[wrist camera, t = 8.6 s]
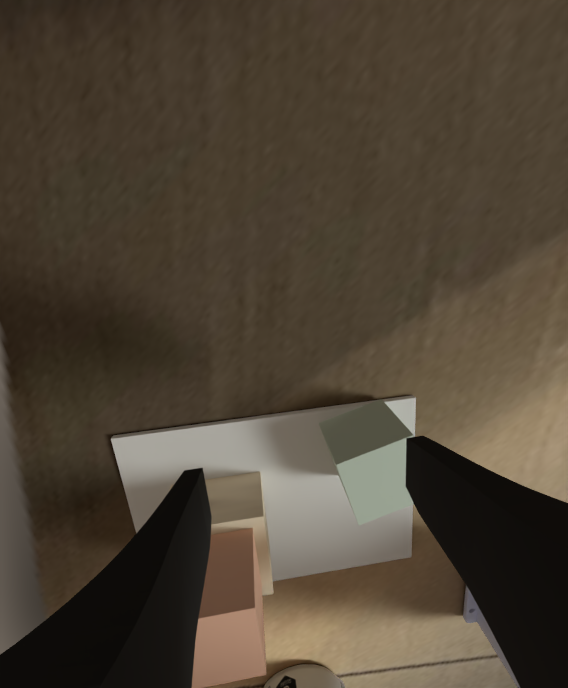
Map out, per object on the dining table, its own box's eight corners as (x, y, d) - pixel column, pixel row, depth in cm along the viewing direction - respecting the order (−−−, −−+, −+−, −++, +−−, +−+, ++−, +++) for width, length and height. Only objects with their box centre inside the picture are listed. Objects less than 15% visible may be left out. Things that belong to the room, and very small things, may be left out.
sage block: (397, 452, 24) (430, 497, 20) (338, 475, 24) (358, 525, 20) (381, 398, 23) (413, 434, 18) (318, 423, 23) (335, 464, 18)
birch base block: (269, 540, 25) (273, 593, 21) (186, 554, 24) (175, 611, 21) (260, 471, 23) (263, 516, 19) (171, 484, 23) (156, 533, 19)
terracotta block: (262, 585, 21) (266, 674, 17) (187, 599, 20) (172, 694, 16) (252, 527, 19) (255, 608, 15) (173, 541, 19) (152, 627, 15)
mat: (409, 552, 27) (411, 557, 27) (156, 596, 26) (155, 602, 25) (412, 395, 23) (415, 397, 23) (113, 435, 22) (110, 438, 21)
